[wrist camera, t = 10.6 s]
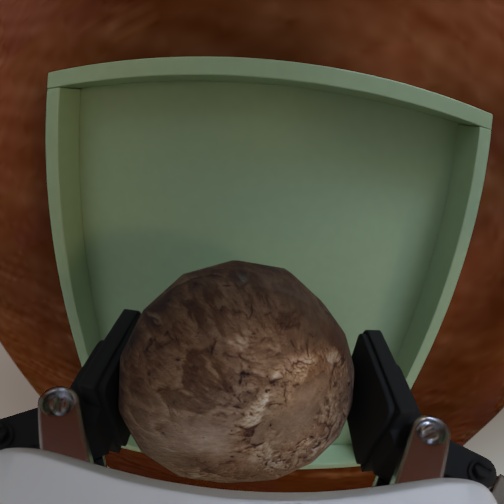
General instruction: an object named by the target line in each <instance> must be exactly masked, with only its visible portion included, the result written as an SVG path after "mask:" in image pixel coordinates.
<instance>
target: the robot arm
mask: <svg viewBox="0 0 504 504" xmlns="http://www.w3.org/2000/svg"><path fill="white" fill-rule="evenodd" d="M140 316H141V313H140V311H137V310H130V309H124V310H123V311H122V313H121V315H120V316H119V318H118V319H117V321H116V322H115V324H114V325H113V327H112V328H111V330H110V331H109V333H108V335H107V336H106V338H105V339H104V340H101V341H99V342H98V343H97V345H96V346H95V348H94V350H93V351H92V353H91V354H90V356H89V357H88V359H87V361H86V362H85V364H84V365H83V367H82V369H81V370H80V372H79V374H78V375H77V377H76V378H75V380H74V382H73V383H72V385H71V387H70V388H68V387H64V386H56V387H52V388H50V389H48V390H46V391H45V392H44V393H43V394H42V395H41V396H40V398H39V400H38V408H35V409H32V410H29V411H26V412H22V413H19V414H16V415H13V416H10V417H7V418H3V419H0V504H504V476H503V475H501V474H500V475H499V476H496V469H495V467H494V465H493V464H492V463H491V461H489V460H488V459H487V458H484V457H483V456H481V455H478V454H477V453H475V452H473V451H471V450H469V449H467V448H465V447H463V446H461V445H459V444H457V443H455V442H453V441H451V440H450V430H449V427H448V425H447V424H446V423H445V422H444V421H443V420H442V419H440V418H438V417H436V416H432V415H423V416H421V413H420V411H419V409H418V406H417V404H416V402H415V399H414V397H413V395H412V392H411V390H410V388H409V386H408V383H407V381H406V379H405V377H404V375H403V372H402V370H401V368H400V367H399V365H397V364H396V362H395V360H394V358H393V356H392V353H391V351H390V349H389V347H388V345H387V343H386V341H385V339H384V337H383V334H382V332H381V331H380V330H365V331H364V332H363V334H359V335H358V338H357V341H356V344H355V347H354V350H353V353H352V356H351V357H352V361H353V365H354V389H353V403H352V408H351V410H350V413H349V415H348V417H347V422H348V427H349V432H350V436H351V441H352V446H353V451H354V456H355V460H356V463H357V464H361V469H362V472H364V471H372V470H373V473H374V474H375V475H376V478H375V480H374V482H373V485H372V487H369V488H361V489H351V490H340V491H325V492H290V493H285V492H252V491H237V490H225V489H215V488H207V487H199V486H192V485H185V484H179V483H173V482H168V481H162V480H157V479H152V478H148V477H143V476H139V475H135V474H131V473H127V472H123V471H119V470H115V469H111V468H107V464H106V460H105V457H104V455H106V454H108V453H109V451H113V452H117V453H119V452H120V449H121V446H126V445H127V443H128V440H129V437H130V434H131V433H130V431H129V429H128V427H127V426H126V424H125V422H124V420H123V418H122V416H121V414H120V412H119V409H118V393H119V370H120V356H121V354H122V352H123V350H124V348H125V346H126V344H127V341H128V339H129V337H130V335H131V333H132V331H133V329H134V327H135V325H136V323H137V321H138V319H139V317H140Z"/></svg>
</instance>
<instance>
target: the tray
mask: <svg viewBox="0 0 504 504" xmlns="http://www.w3.org/2000/svg"><path fill="white" fill-rule="evenodd" d="M47 88H48V90H47V101H46V173H47V189H48V201H49V212H50V221H51V229H52V237H53V244H54V250H55V257H56V263H57V268H58V274H59V279H60V284H61V289H62V294H63V298H64V303H65V307H66V311H67V315H68V319H69V323H70V327H71V331H72V335H73V338H74V342H75V345H76V349H77V352H78V356H79V359H80V362H81V365H82V367H83V365H84V364H85V362H86V361H87V359H88V357H89V356H90V354H91V353H92V351H93V350H94V348H95V346H96V345H97V343H98V342H99V341H101V340H104V339H105V338H106V336H107V335H108V333H109V331H110V330H111V328H112V327H113V325H114V324H115V322H116V321H117V319H118V318H119V316H120V315H121V313H122V311H123V310H124V309H130V310H137V311H140V313H141V314H142V312H143V310H144V309H145V308H146V307H147V306H148V305H149V304H150V303H152V302H153V301H154V300H155V299H156V298H157V297H158V296H159V295H160V294H161V293H163V292H164V291H165V290H166V289H167V288H168V287H169V286H170V285H171V284H172V283H174V282H175V281H176V280H177V279H178V278H179V277H180V276H181V275H182V274H185V273H188V272H192V271H196V270H199V269H203V268H206V267H210V266H214V265H217V264H221V263H224V262H228V261H231V260H239V261H245V262H250V263H256V264H262V265H268V266H274V267H280V268H285V269H286V270H288V271H289V272H290V273H292V274H293V275H294V276H295V277H296V278H297V279H298V280H299V281H300V282H302V283H303V284H304V285H305V286H306V287H307V288H308V289H309V290H310V291H311V292H312V293H313V294H314V295H316V296H317V297H318V298H319V299H320V300H321V301H322V302H323V304H324V305H325V306H326V307H327V309H328V310H329V311H330V313H331V314H332V316H333V317H334V318H335V320H336V321H337V323H338V324H339V325H340V327H341V328H342V330H343V331H344V333H345V334H346V338H347V342H348V345H349V349H350V353H351V356H352V353H353V350H354V347H355V344H356V341H357V338H358V335H359V334H363V332H364V331H365V330H380V331H381V332H382V334H383V337H384V339H385V341H386V343H387V345H388V347H389V349H390V351H391V353H392V356H393V358H394V360H395V362H396V364H397V365H399V367H400V368H401V370H402V372H403V375H404V377H405V379H406V381H407V383H408V386H409V388H410V389H411V388H412V386H413V384H414V382H415V380H416V378H417V376H418V374H419V372H420V370H421V368H422V366H423V364H424V362H425V360H426V358H427V355H428V353H429V351H430V349H431V347H432V344H433V342H434V340H435V338H436V335H437V333H438V331H439V328H440V326H441V324H442V321H443V319H444V316H445V314H446V311H447V309H448V306H449V303H450V301H451V298H452V295H453V292H454V290H455V287H456V284H457V281H458V278H459V275H460V272H461V269H462V266H463V263H464V260H465V256H466V253H467V250H468V246H469V243H470V239H471V235H472V232H473V228H474V224H475V220H476V216H477V211H478V207H479V203H480V198H481V193H482V188H483V183H484V178H485V172H486V166H487V160H488V153H489V146H490V138H491V131H490V130H491V129H492V119H493V115H492V114H490V113H488V112H486V111H483V110H481V109H478V108H476V107H473V106H471V105H468V104H465V103H463V102H460V101H457V100H455V99H452V98H449V97H446V96H443V95H440V94H437V93H434V92H431V91H428V90H425V89H421V88H418V87H415V86H411V85H408V84H404V83H400V82H397V81H393V80H389V79H385V78H381V77H376V76H372V75H368V74H363V73H358V72H354V71H348V70H343V69H338V68H332V67H326V66H320V65H313V64H306V63H298V62H290V61H281V60H271V59H258V58H243V57H214V56H190V57H161V58H146V59H134V60H124V61H115V62H107V63H99V64H92V65H86V66H80V67H74V68H69V69H64V70H59V71H54V72H50V73H48V82H47ZM121 448H125V449H129V450H134V451H138V452H141V451H140V449H139V447H138V445H137V444H136V442H135V440H134V438H133V437H132V435H131V434H130V437H129V440H128V443H127V445H126V446H121ZM142 453H143V452H142ZM355 466H361V464H357V463H356V460H355V456H354V451H353V446H352V441H351V436H350V432H349V427H348V422H347V420H346V422H345V424H344V426H343V429H342V431H341V433H340V435H339V437H338V438H337V439H336V440H335V441H334V442H333V443H332V444H331V445H330V446H329V447H328V448H327V449H326V450H325V451H324V452H323V453H322V454H321V455H320V456H319V457H318V458H317V459H316V460H314V461H313V462H312V463H310V464H308V465H306V466H304V467H302V468H300V469H324V468H342V467H355Z"/></svg>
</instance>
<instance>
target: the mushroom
mask: <svg viewBox="0 0 504 504" xmlns="http://www.w3.org/2000/svg"><path fill="white" fill-rule="evenodd" d="M353 389H354V365H353V361H352V357H351V353H350V349H349V345H348V342H347V338H346V334H345V333H344V331H343V330H342V328H341V327H340V325H339V324H338V323H337V321H336V320H335V318H334V317H333V316H332V314H331V313H330V311H329V310H328V309H327V307H326V306H325V305H324V304H323V302H322V301H321V300H320V299H319V298H318V297H317V296H316V295H314V294H313V293H312V292H311V291H310V290H309V289H308V288H307V287H306V286H305V285H304V284H303V283H302V282H300V281H299V280H298V279H297V278H296V277H295V276H294V275H293V274H292V273H290V272H289V271H288V270H286V269H285V268H280V267H274V266H268V265H262V264H256V263H250V262H245V261H239V260H231V261H228V262H224V263H221V264H217V265H214V266H210V267H206V268H203V269H199V270H196V271H192V272H188V273H185V274H182V275H181V276H180V277H179V278H178V279H177V280H176V281H175V282H174V283H172V284H171V285H170V286H169V287H168V288H167V289H166V290H165V291H164V292H163V293H161V294H160V295H159V296H158V297H157V298H156V299H155V300H154V301H153V302H152V303H150V304H149V305H148V306H147V307H146V308H145V309H144V310H143V312H142V314H141V316H140V317H139V319H138V321H137V323H136V325H135V327H134V329H133V331H132V333H131V335H130V337H129V339H128V341H127V344H126V346H125V348H124V350H123V352H122V354H121V356H120V370H119V393H118V409H119V412H120V414H121V416H122V418H123V420H124V422H125V424H126V426H127V427H128V429H129V431H130V433H131V435H132V437H133V438H134V440H135V442H136V444H137V445H138V447H139V449H140V451H141V452H143V453H144V454H145V455H147V456H148V457H150V458H151V459H153V460H154V461H156V462H157V463H159V464H160V465H162V466H164V467H165V468H167V469H168V470H170V471H172V472H173V473H175V474H176V475H178V476H182V477H186V478H192V479H199V480H208V481H215V482H228V483H230V482H251V481H265V480H273V479H278V478H280V477H282V476H284V475H287V474H289V473H291V472H293V471H295V470H298V469H300V468H302V467H304V466H306V465H308V464H310V463H312V462H313V461H314V460H316V459H317V458H318V457H319V456H320V455H321V454H322V453H323V452H324V451H325V450H326V449H327V448H328V447H329V446H330V445H331V444H332V443H333V442H334V441H335V440H336V439H337V438H338V437H339V435H340V433H341V431H342V429H343V426H344V424H345V422H346V420H347V417H348V415H349V413H350V410H351V408H352V403H353Z"/></svg>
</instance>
